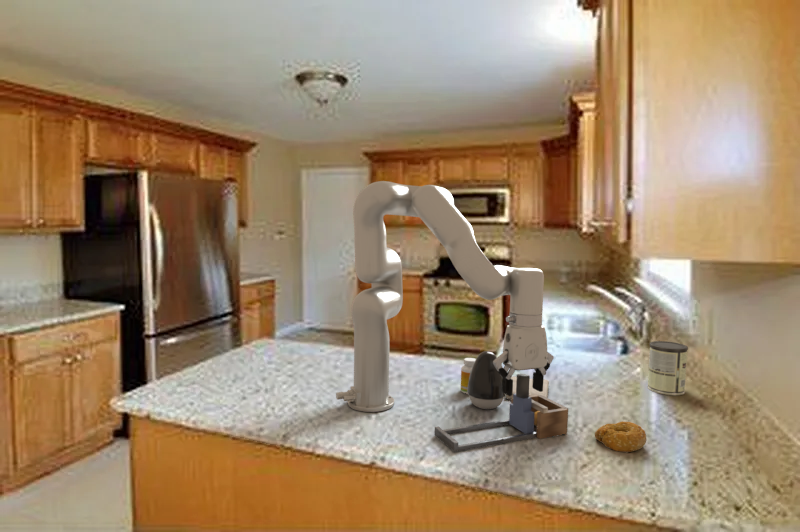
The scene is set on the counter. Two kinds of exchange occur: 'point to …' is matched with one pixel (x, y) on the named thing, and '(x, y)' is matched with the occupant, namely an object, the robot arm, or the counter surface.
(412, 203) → the robot arm
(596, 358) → the counter surface
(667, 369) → the coffee can
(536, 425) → the ball
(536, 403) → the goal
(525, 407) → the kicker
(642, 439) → the bagel
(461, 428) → the track
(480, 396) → the pump dispenser
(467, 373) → the supplement bottle
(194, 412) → the counter surface
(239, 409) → the counter surface
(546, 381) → the washcloth
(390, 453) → the counter surface
